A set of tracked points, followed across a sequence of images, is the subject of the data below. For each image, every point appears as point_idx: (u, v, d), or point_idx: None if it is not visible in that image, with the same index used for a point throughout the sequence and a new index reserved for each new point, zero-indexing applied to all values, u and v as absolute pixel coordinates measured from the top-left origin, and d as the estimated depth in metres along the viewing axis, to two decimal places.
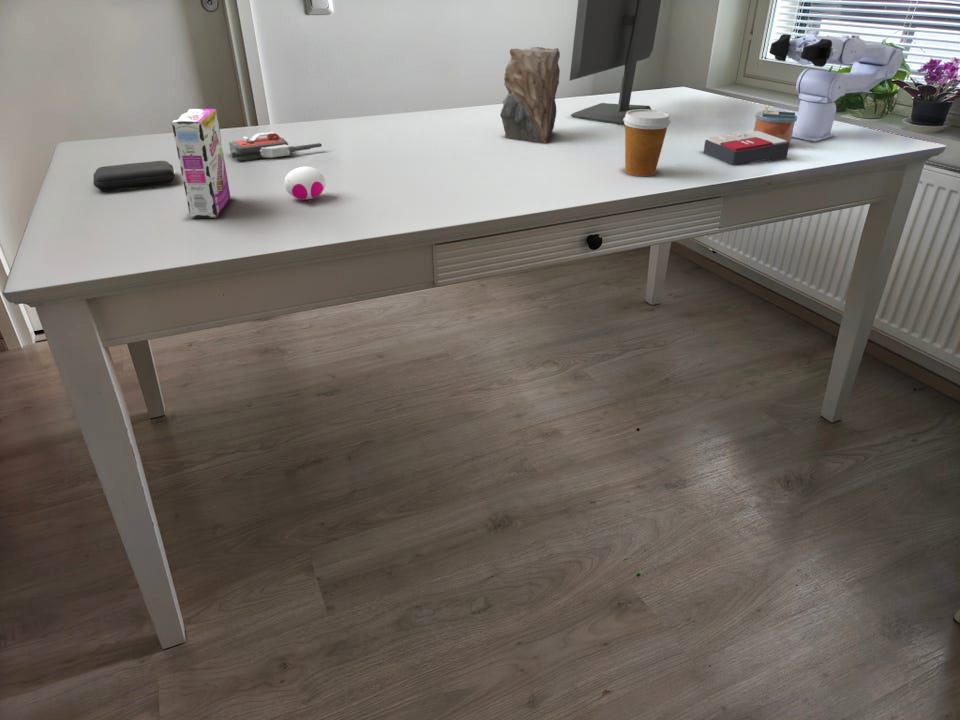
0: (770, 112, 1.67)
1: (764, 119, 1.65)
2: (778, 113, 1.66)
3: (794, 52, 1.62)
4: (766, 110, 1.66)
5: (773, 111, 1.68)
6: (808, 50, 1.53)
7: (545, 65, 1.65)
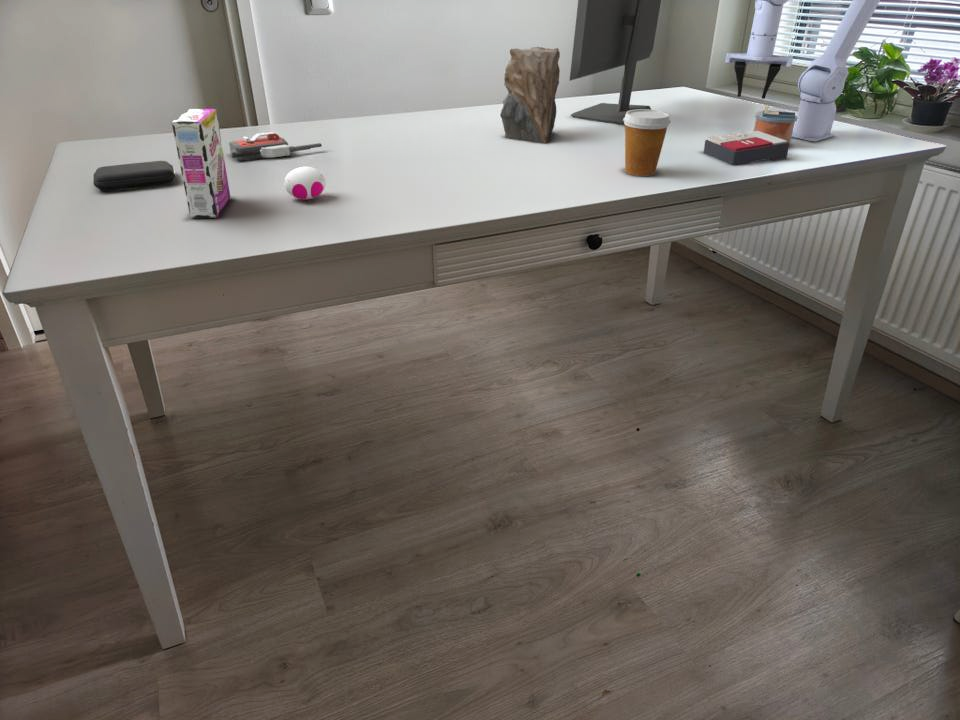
0: (770, 112, 1.67)
1: (764, 119, 1.65)
2: (778, 113, 1.66)
3: None
4: (766, 110, 1.66)
5: (773, 111, 1.68)
6: None
7: (545, 65, 1.65)
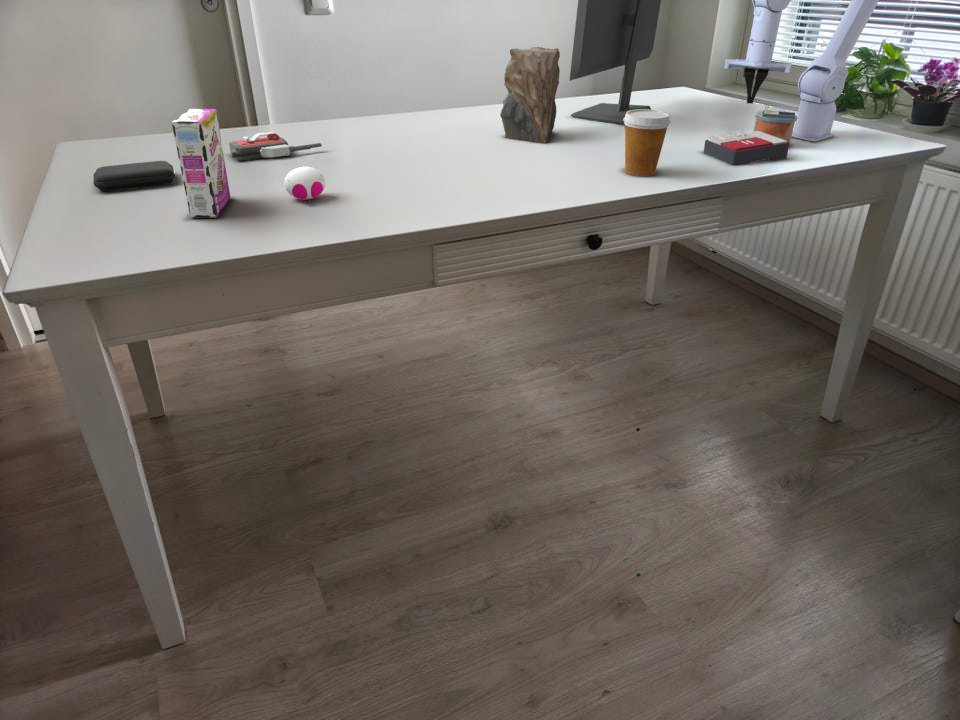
0: (770, 112, 1.67)
1: (764, 119, 1.65)
2: (778, 113, 1.66)
3: None
4: (766, 110, 1.66)
5: (773, 111, 1.68)
6: None
7: (545, 65, 1.65)
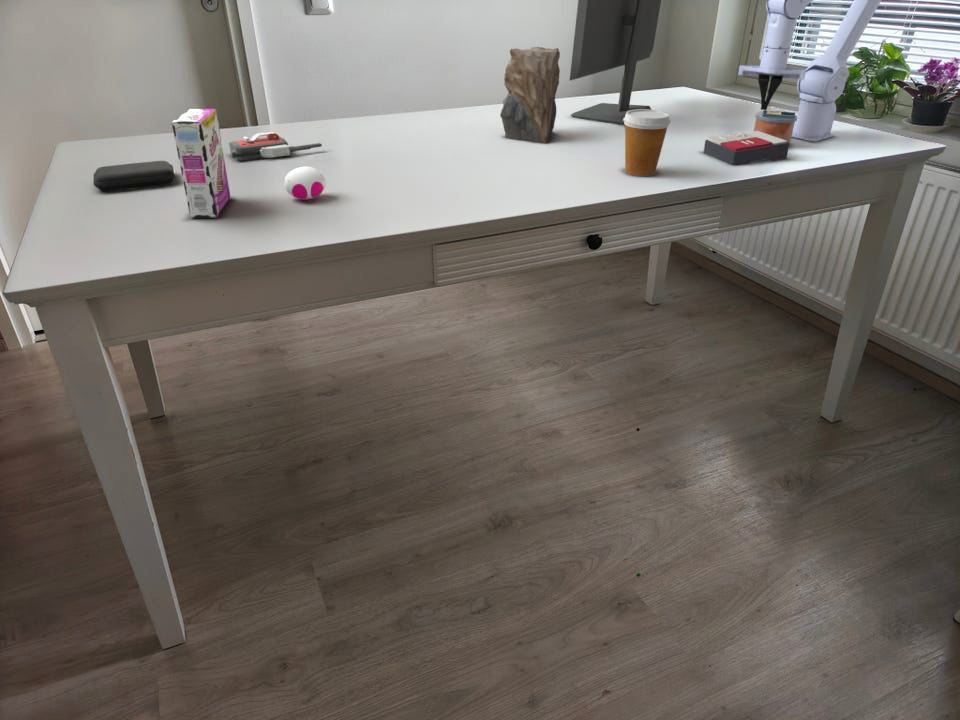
0: (773, 112, 1.67)
1: (764, 119, 1.65)
2: None
3: None
4: (769, 110, 1.66)
5: (776, 111, 1.68)
6: None
7: (545, 65, 1.65)
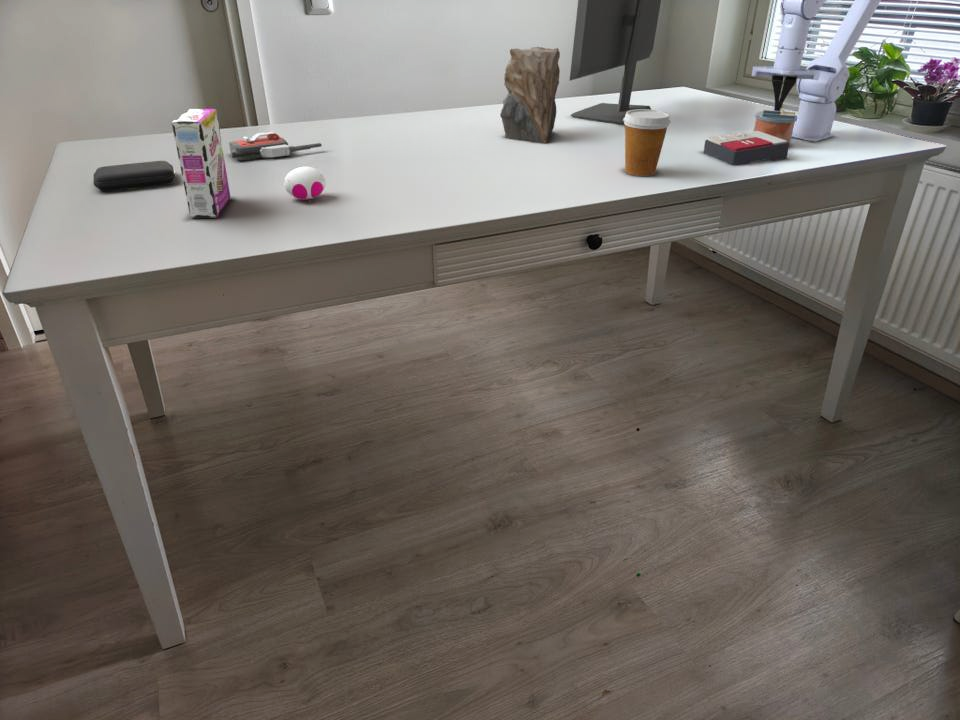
0: (786, 113, 1.66)
1: (764, 119, 1.65)
2: (794, 114, 1.65)
3: None
4: (782, 111, 1.65)
5: None
6: None
7: (545, 65, 1.65)
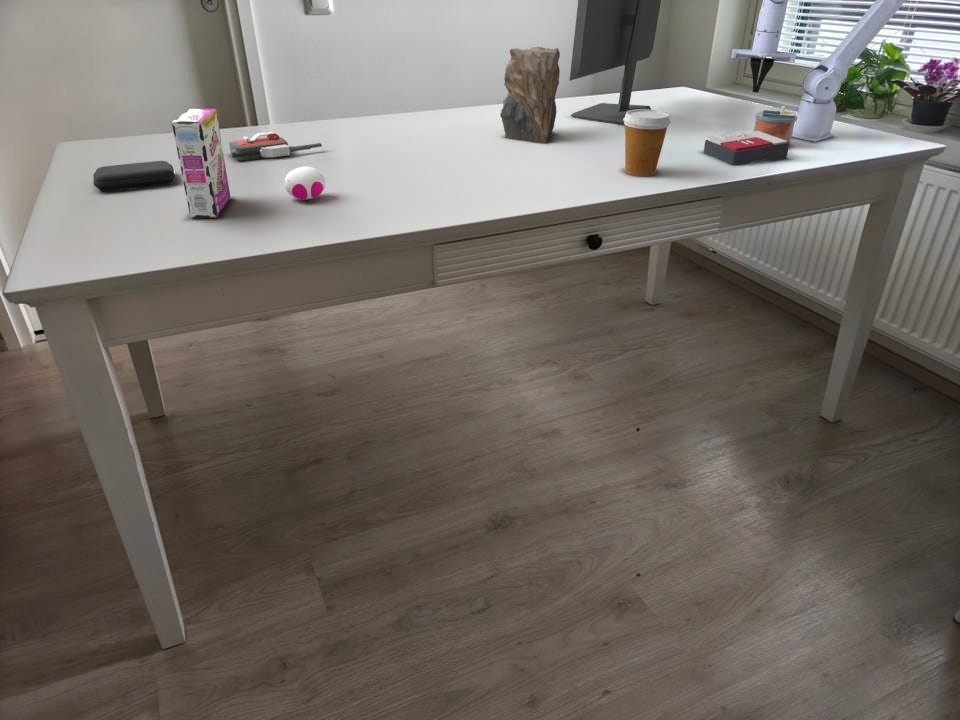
0: (786, 113, 1.66)
1: (764, 119, 1.65)
2: (794, 114, 1.65)
3: None
4: (782, 111, 1.65)
5: None
6: (759, 88, 1.71)
7: (545, 65, 1.65)
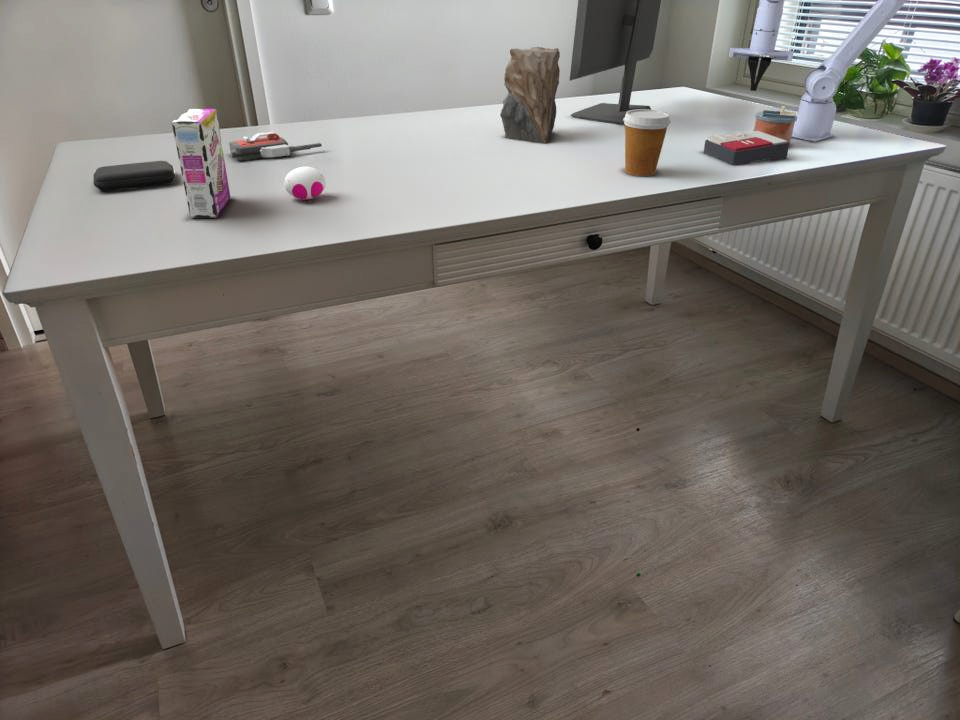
0: (786, 113, 1.66)
1: (764, 119, 1.65)
2: (794, 114, 1.65)
3: None
4: (782, 111, 1.65)
5: None
6: None
7: (545, 65, 1.65)
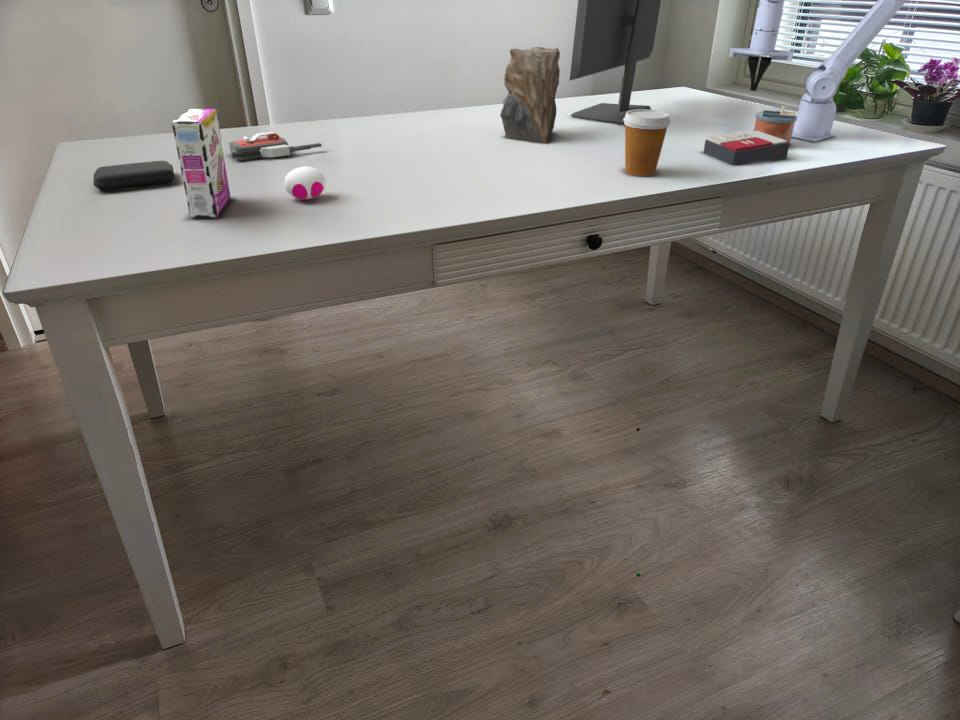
0: (786, 113, 1.66)
1: (764, 119, 1.65)
2: (794, 114, 1.65)
3: None
4: (782, 111, 1.65)
5: None
6: None
7: (545, 65, 1.65)
